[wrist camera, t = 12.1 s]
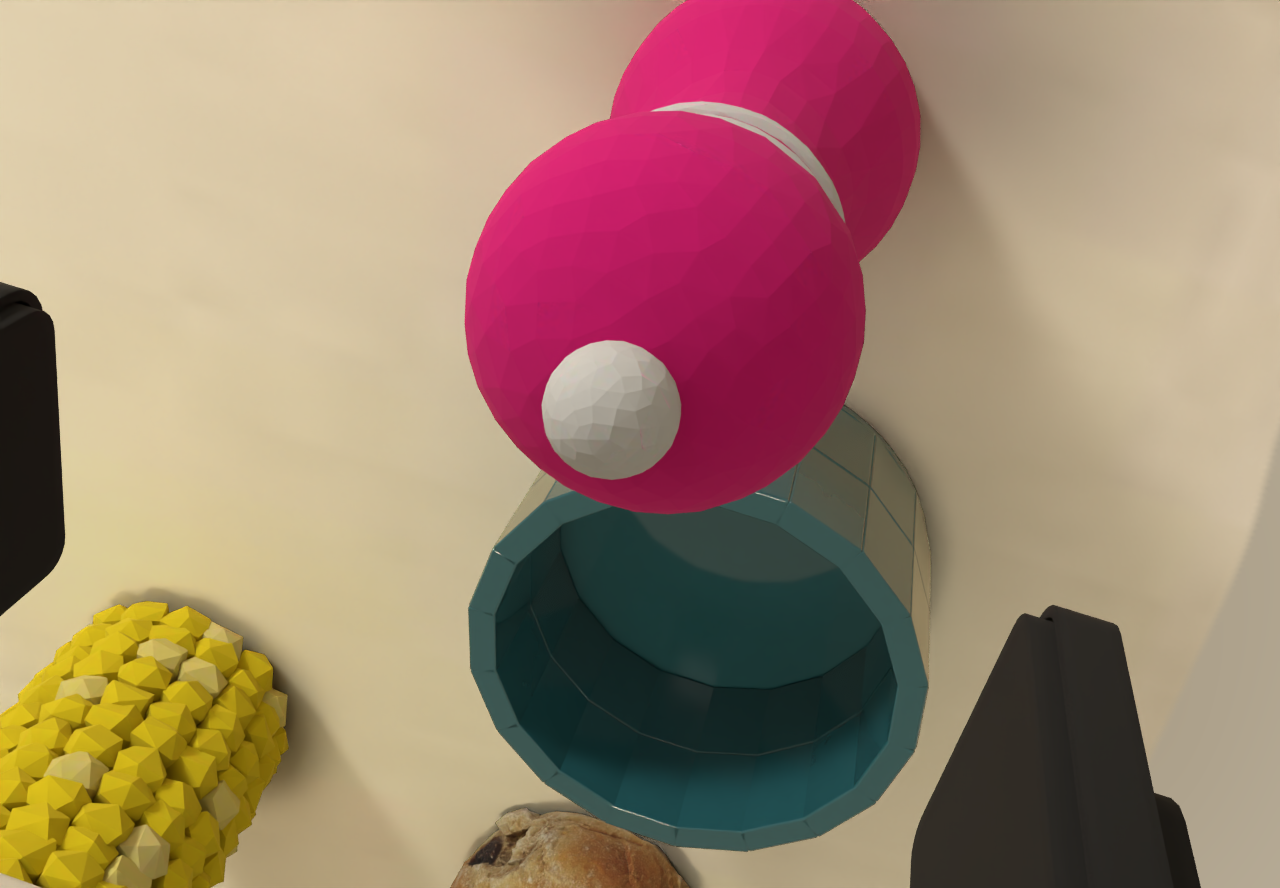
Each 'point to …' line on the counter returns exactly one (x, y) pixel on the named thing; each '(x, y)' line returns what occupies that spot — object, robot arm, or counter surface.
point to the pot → (716, 649)
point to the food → (138, 754)
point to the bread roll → (565, 856)
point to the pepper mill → (697, 256)
